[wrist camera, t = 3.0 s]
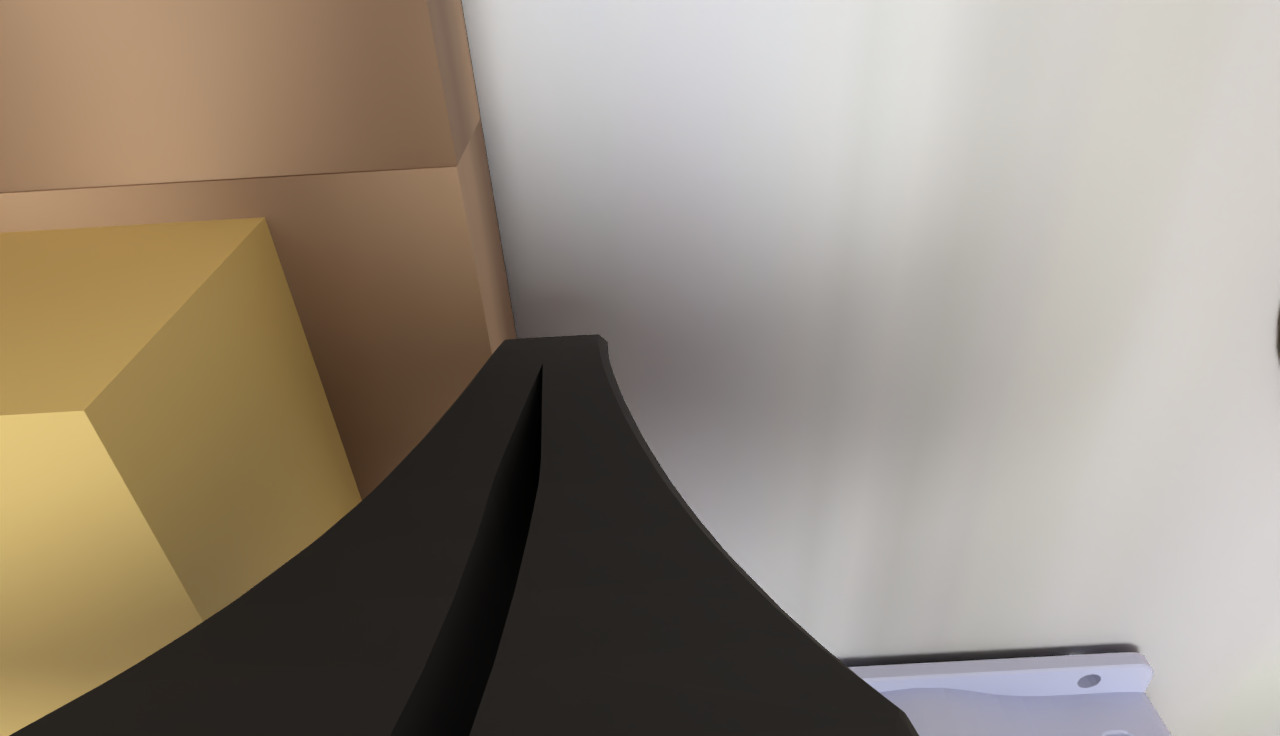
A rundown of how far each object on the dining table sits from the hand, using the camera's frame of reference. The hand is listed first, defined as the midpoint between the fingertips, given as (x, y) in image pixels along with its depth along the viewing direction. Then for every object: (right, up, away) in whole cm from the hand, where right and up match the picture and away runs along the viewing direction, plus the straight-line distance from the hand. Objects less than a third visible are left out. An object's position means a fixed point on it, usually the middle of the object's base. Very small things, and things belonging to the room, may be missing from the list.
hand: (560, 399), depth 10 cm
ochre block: (-6, 0, +1) cm, 6 cm away
